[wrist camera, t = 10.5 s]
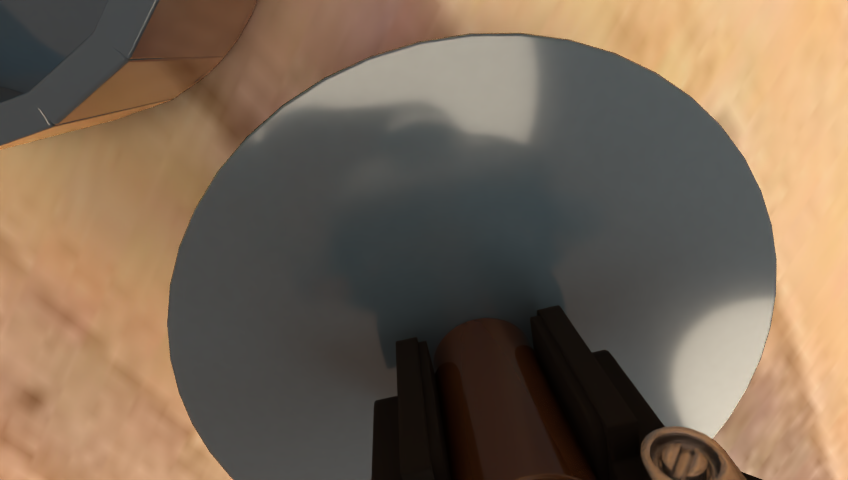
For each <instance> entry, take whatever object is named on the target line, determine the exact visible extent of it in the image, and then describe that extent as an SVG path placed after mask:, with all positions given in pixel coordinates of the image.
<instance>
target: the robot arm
mask: <svg viewBox="0 0 848 480" xmlns="http://www.w3.org/2000/svg"><path fill="white" fill-rule="evenodd" d="M530 324H531V331H532V338H533V345H534V351H535V353H536V355H537V357H538V359H539V361H540V363H541V365H542V367H543V369H544V371H545V373H546V375H547V377H548V379H549V381H550V384H551V386H552V388H553V390H554V392H555V394H556V396H557V398H558V400H559V402H560V404H561V406H562V408H563V410H564V412H565V414H566V416H567V418H568V420H569V422H570V424H571V426H572V428H573V430H574V432H575V434H576V436H577V438H578V440H579V442H580V444H581V446H582V448H583V450H584V452H585V454H586V456H587V458H588V460H589V462H590V464H591V466H592V468H593V470H594V472H595V474H596V477H597V478H598V480H762V479H759V478H757V477H754V476H751V475H748V474H746V473H743V472H741V471H740V470H739V469H738V467H737V466H736V465H735V463H734V462H733V461H732V459H731V458H730V457H729V455H728V454H727V453H726V451H725V450H724V449H723V448H722V447H721V446H720V445H719V444H718V443H717V442H716V441H715V440H713V439H712V438H710V437H708V436H707V435H705V434H704V433H701V432H698V431H696V430H693V429H690V428H684V427H679V426H673V427H665V426H664V425H663V423H662V422H661V421H660V419H659V418H658V417H657V415H656V414H655V413H654V411H653V410H652V409H651V407H650V406H649V404H648V403H647V402H646V400H645V399H644V398H643V396H642V395H641V394H640V392H639V391H638V390H637V388H636V387H635V386H634V384H633V383H632V381H631V380H630V379H629V377H628V376H627V375H626V373H625V372H624V371H623V369H622V368H621V367H620V365H619V364H618V363H617V361H616V360H615V358H614V357H613V356H612V355H611V353H610V352H609V351H607V350H601V351H596V352H591V351H590V349H589V348H588V346H587V345H586V343H585V342H584V340H583V339H582V338H581V336H580V335H579V333H578V332H577V330H576V329H575V327H574V326H573V324H572V323H571V321H570V320H569V318H568V317H567V315H566V314H565V313H564V311H563V310H562V308H561V307H560V306H559V305H557V306H552V307H548V308H543V309H539V310H537V316H534V317H530ZM396 369H397V396H394V397H389V398H385V399H380V400H376V401H375V402H374V415H373V446H372V477H371V480H451V476H450V470H449V463H448V457H447V450H446V444H445V437H444V430H443V424H442V417H441V411H440V404H439V398H438V391H437V385H436V378H435V373H434V369H433V365H432V361H431V357H430V353H429V349H428V345H427V341H422V342H418V338H417V337H413V338H409V339H404V340H400V341H396Z"/></svg>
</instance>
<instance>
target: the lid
mask: <svg viewBox="0 0 848 480" xmlns="http://www.w3.org/2000/svg"><path fill="white" fill-rule="evenodd" d="M775 296H776V253H775V246H774V239H773V232H772V225H771V222H770V218H769V215H768V212H767V209H766V205H765V202H764V199H763V196H762V192H761V190H760V188H759V186H758V184H757V182H756V180H755V178H754V176H753V174H752V172H751V170H750V168H749V166H748V164H747V162H746V160H745V158H744V156H743V155H742V154H741V152H740V151H739V150H738V148H737V147H736V146H735V144H734V143H733V142H732V140H731V139H730V137H729V136H728V135H727V133H726V132H725V131H724V129H723V128H722V127H721V125H720V124H719V123H718V122H717V121H716V120H715V119H714V118H713V117H712V116H710V115H709V114H708V113H707V112H706V111H705V110H704V109H703V108H702V107H701V106H700V105H699V104H698V103H697V102H696V101H695V100H694V99H693V98H692V97H691V96H689V95H688V94H686V93H685V92H683V91H682V90H681V89H679V88H678V87H676V86H675V85H673V84H672V83H670V82H669V81H667V80H666V79H665V78H663V77H662V76H660V75H659V74H657V73H656V72H654V71H652V70H650V69H648V68H645V67H643V66H641V65H639V64H637V63H635V62H633V61H631V60H629V59H626V58H624V57H622V56H620V55H618V54H616V53H613V52H610V51H606V50H603V49H599V48H596V47H593V46H589V45H586V44H583V43H579V42H576V41H572V40H568V39H561V38H554V37H546V36H539V35H532V34H524V33H474V34H464V35H458V36H451V37H445V38H438V39H432V40H425V41H419V42H416V43H412V44H409V45H406V46H403V47H399V48H396V49H393V50H389V51H386V52H383V53H380V54H376V55H373V56H370V57H368V58H366V59H364V60H362V61H359V62H357V63H355V64H353V65H351V66H349V67H347V68H344V69H342V70H340V71H338V72H336V73H334V74H332V75H329V76H327V77H325V78H323V79H322V80H320V81H319V82H317V83H316V84H314V85H313V86H311V87H310V88H308V89H307V90H305V91H304V92H302V93H300V94H299V95H297V96H296V97H294V98H293V99H291V100H290V101H288V102H287V103H285V104H284V105H282V106H281V107H280V108H279V109H278V110H277V111H276V112H274V113H273V114H272V115H271V116H270V117H269V118H268V119H266V120H265V121H264V122H263V123H262V124H261V125H260V126H259V127H257V128H256V129H255V130H254V131H253V132H252V133H251V134H249V135H248V136H247V137H246V138H245V140H244V141H243V142H242V143H241V144H240V146H239V147H238V148H237V149H236V150H235V152H234V153H233V154H232V155H231V156H230V157H229V159H228V160H227V161H226V162H225V163H224V165H223V166H222V167H221V168H220V169H219V171H218V172H217V173H216V175H215V177H214V178H213V180H212V182H211V183H210V185H209V186H208V188H207V190H206V191H205V193H204V195H203V196H202V198H201V200H200V201H199V203H198V205H197V206H196V208H195V210H194V212H193V214H192V217H191V219H190V222H189V224H188V227H187V229H186V231H185V234H184V236H183V239H182V241H181V244H180V246H179V249H178V253H177V258H176V262H175V266H174V270H173V275H172V279H171V283H170V291H169V305H168V320H167V327H168V337H169V348H170V359H171V363H172V367H173V371H174V375H175V379H176V383H177V387H178V391H179V394H180V396H181V399H182V401H183V403H184V406H185V408H186V410H187V413H188V415H189V417H190V420H191V422H192V424H193V426H194V427H195V429H196V431H197V432H198V434H199V436H200V437H201V439H202V440H203V442H204V444H205V445H206V447H207V448H208V450H209V452H210V453H211V454H212V455H213V457H214V458H215V459H216V460H217V461H218V463H219V464H220V465H221V466H222V467H223V469H224V470H225V471H226V472H227V473H228V475H229V476H230V477H231V478H232V479H233V480H371V477H372V446H373V415H374V402H375V401H376V400H380V399H385V398H389V397H394V396H397V369H396V341H400V340H404V339H409V338H413V337H417V338H418V342H422V341H427V345H428V349H429V353H430V357H431V361H432V365H433V369H434V373H435V378H436V385H437V391H438V398H439V404H440V411H441V417H442V424H443V430H444V437H445V444H446V450H447V457H448V463H449V470H450V476H451V480H598V478H597V477H596V474H595V472H594V470H593V468H592V466H591V464H590V462H589V460H588V458H587V456H586V454H585V452H584V450H583V448H582V446H581V444H580V442H579V440H578V438H577V436H576V434H575V432H574V430H573V428H572V426H571V424H570V422H569V420H568V418H567V416H566V414H565V412H564V410H563V408H562V406H561V404H560V402H559V400H558V398H557V396H556V394H555V392H554V390H553V388H552V386H551V384H550V381H549V379H548V377H547V375H546V373H545V371H544V369H543V367H542V365H541V363H540V361H539V359H538V357H537V355H536V353H535V351H534V345H533V338H532V331H531V324H530V317H534V316H537V310H539V309H543V308H548V307H552V306H557V305H559V306H560V307H561V308H562V310H563V311H564V313H565V314H566V315H567V317H568V318H569V320H570V321H571V323H572V324H573V326H574V327H575V329H576V330H577V332H578V333H579V335H580V336H581V338H582V339H583V340H584V342H585V343H586V345H587V346H588V348H589V349H590V351H591V352H596V351H601V350H607V351H609V352H610V353H611V355H612V356H613V357H614V358H615V360H616V361H617V363H618V364H619V365H620V367H621V368H622V369H623V371H624V372H625V373H626V375H627V376H628V377H629V379H630V380H631V381H632V383H633V384H634V386H635V387H636V388H637V390H638V391H639V392H640V394H641V395H642V396H643V398H644V399H645V400H646V402H647V403H648V404H649V406H650V407H651V409H652V410H653V411H654V413H655V414H656V415H657V417H658V418H659V419H660V421H661V422H662V423H663V425H664V426H665V427H673V426H679V427H684V428H690V429H693V430H696V431H698V432H701V433H704V434H705V435H707V436H708V437H710V438H712V439H713V438H714V437H715V436H716V435H717V433H718V432H719V431H720V429H721V428H722V427H723V425H724V424H725V423H726V422H727V420H728V419H729V418H730V416H731V415H732V413H733V411H734V410H735V408H736V406H737V405H738V403H739V401H740V400H741V398H742V396H743V395H744V393H745V392H746V390H747V388H748V386H749V384H750V381H751V379H752V377H753V375H754V373H755V370H756V368H757V366H758V364H759V362H760V359H761V356H762V353H763V350H764V347H765V343H766V340H767V337H768V334H769V330H770V327H771V321H772V315H773V309H774V302H775Z"/></svg>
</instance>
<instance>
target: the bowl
mask: <svg viewBox="0 0 848 480" xmlns="http://www.w3.org/2000/svg"><path fill="white" fill-rule="evenodd" d="M256 3H257V0H0V150H2V149H6V148H10V147H14V146H17V145H21V144H25V143H29V142H33V141H37V140H41V139H44V138H48V137H52V136H56V135H60V134H64V133H68V132H71V131H75V130H79V129H83V128H87V127H91V126H95V125H98V124H102V123H106V122H110V121H114V120H117V119H120V118H122V117H125V116H128V115H131V114H134V113H137V112H139V111H142V110H146V109H149V108H152V107H155V106H157V105H160V104H162V103H165V102H168V101H171V100H173V99H174V98H176V97H177V96H179V95H180V94H182V93H183V92H185V91H186V90H187V89H189V88H190V87H192V86H193V85H195V84H196V83H198V82H199V81H201V80H202V79H203V78H204V77H205V76H206V75H207V74H208V73H209V72H210V71H211V70H212V69H214V68H215V67H216V66H217V65H218V64H219V63H220V62H221V61H222V59H223V58H224V57H225V56H226V54H227V53H228V52H229V50H230V49H231V48H232V47H233V45H234V44H235V43H236V42H237V40H238V38H239V37H240V35H241V33H242V31H243V30H244V28H245V26H246V24H247V23H248V21H249V19H250V17H251V15H252V13H253V10H254V8H255V5H256Z"/></svg>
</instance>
